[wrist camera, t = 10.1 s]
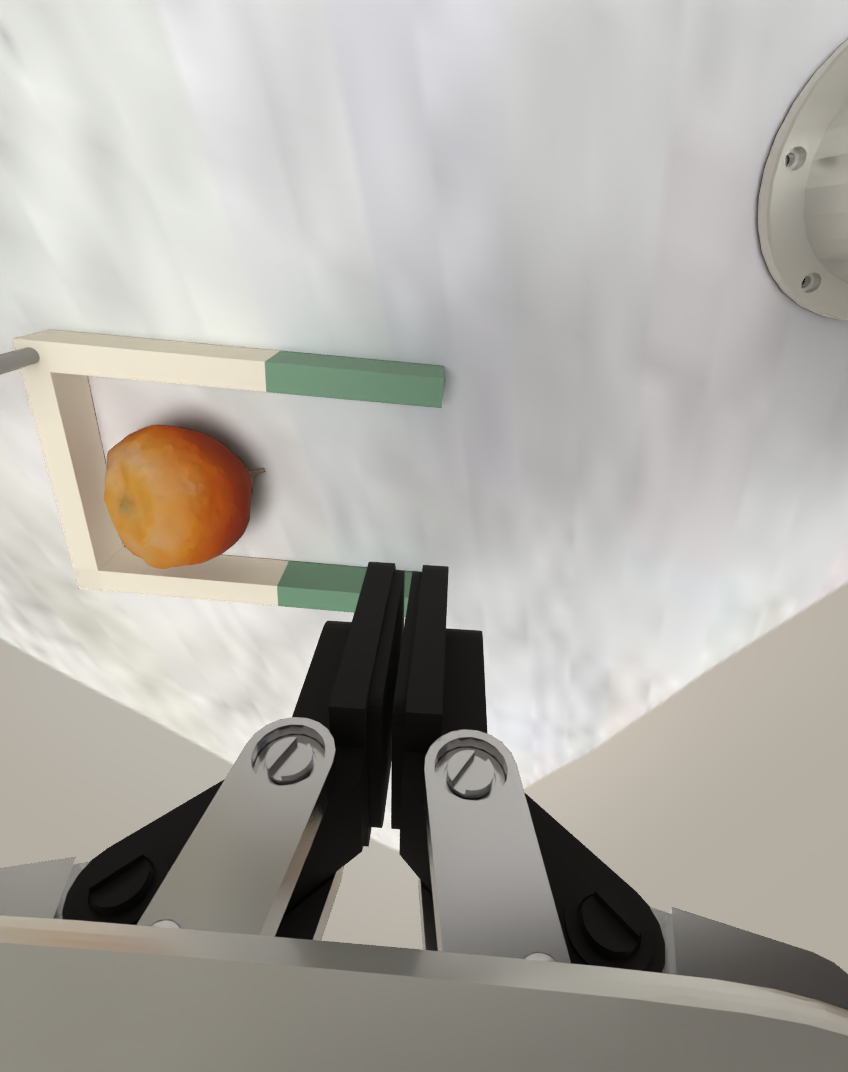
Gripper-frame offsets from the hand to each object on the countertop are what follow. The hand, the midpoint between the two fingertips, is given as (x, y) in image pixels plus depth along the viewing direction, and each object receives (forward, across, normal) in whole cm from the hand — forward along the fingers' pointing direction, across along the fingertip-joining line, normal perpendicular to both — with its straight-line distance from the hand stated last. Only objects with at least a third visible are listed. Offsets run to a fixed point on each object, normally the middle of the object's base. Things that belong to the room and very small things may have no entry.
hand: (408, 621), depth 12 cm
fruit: (+21, +14, +6) cm, 26 cm away
